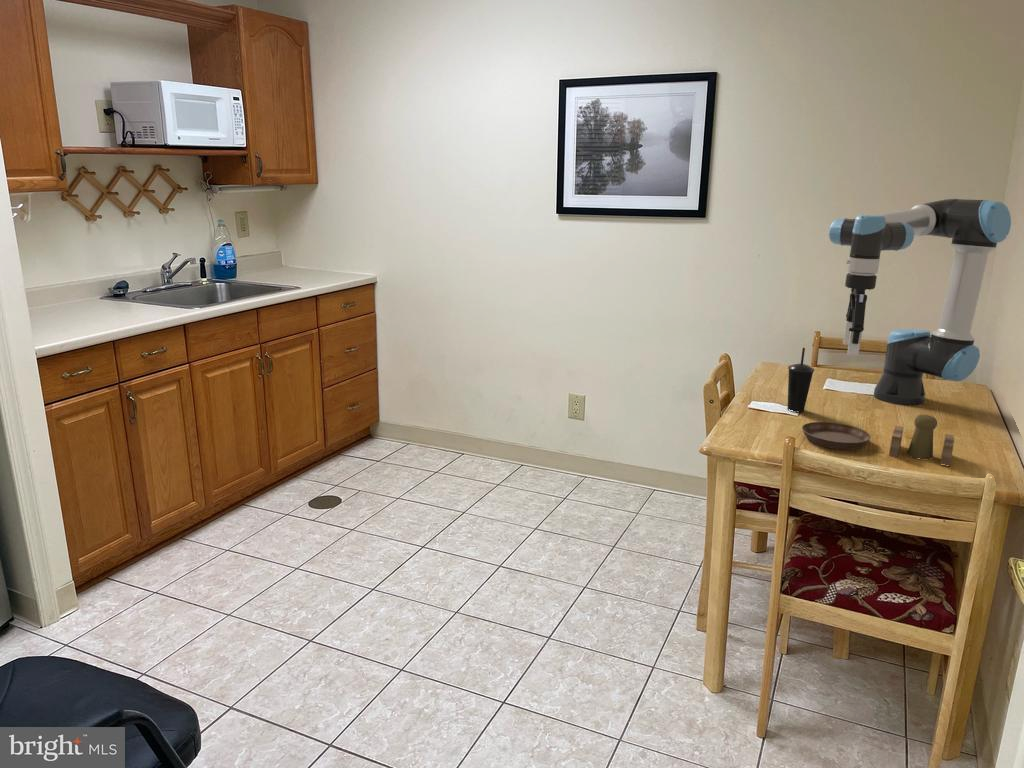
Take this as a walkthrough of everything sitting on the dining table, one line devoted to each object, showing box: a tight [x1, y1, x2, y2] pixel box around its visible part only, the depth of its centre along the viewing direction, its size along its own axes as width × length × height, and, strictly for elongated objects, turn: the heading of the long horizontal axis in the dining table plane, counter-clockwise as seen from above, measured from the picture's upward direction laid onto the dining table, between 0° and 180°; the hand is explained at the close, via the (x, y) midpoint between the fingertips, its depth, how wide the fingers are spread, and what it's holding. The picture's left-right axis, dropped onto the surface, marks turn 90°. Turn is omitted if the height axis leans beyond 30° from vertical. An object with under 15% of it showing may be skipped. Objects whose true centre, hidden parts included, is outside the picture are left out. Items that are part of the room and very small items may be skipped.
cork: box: [906, 414, 938, 460], centre depth 197 cm, size 6×6×11 cm
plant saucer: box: [801, 421, 872, 450], centre depth 208 cm, size 18×18×3 cm
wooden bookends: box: [888, 425, 955, 465], centre depth 197 cm, size 10×14×6 cm
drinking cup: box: [787, 347, 815, 413], centre depth 231 cm, size 8×8×20 cm
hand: (850, 349), depth 208 cm, fingers open, 13 cm apart
